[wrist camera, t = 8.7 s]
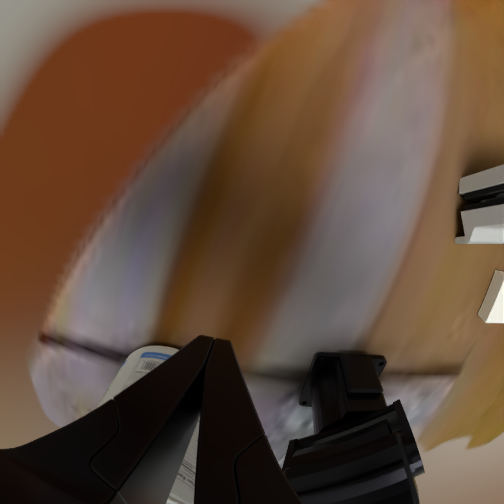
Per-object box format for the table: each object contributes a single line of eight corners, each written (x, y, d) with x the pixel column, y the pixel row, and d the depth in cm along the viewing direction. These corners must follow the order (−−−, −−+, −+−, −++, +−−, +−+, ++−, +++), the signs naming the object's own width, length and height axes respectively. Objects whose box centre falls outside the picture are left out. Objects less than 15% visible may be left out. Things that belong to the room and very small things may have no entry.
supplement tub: (173, 418, 27) (135, 531, 13) (110, 360, 24) (38, 474, 10) (244, 394, 24) (223, 542, 10) (174, 323, 22) (94, 484, 8)
